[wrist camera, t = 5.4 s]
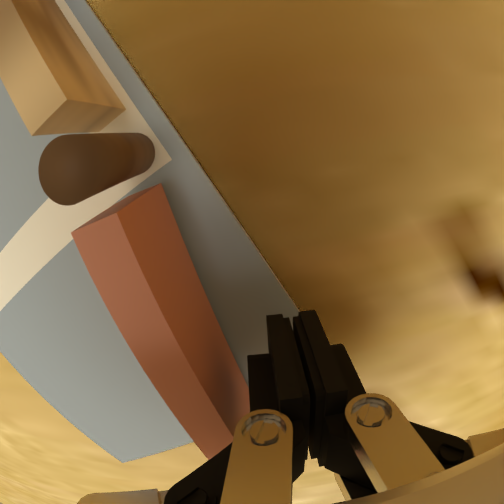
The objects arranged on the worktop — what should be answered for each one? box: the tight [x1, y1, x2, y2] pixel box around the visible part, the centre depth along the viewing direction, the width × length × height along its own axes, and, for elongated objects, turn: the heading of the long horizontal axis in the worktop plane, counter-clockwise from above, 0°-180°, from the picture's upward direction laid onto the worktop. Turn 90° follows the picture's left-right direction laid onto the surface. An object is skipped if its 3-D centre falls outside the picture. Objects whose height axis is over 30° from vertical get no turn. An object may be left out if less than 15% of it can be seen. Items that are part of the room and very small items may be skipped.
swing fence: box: [71, 183, 250, 460], centre depth 10 cm, size 11×1×4 cm, turn 18°
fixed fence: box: [0, 0, 155, 206], centre depth 6 cm, size 11×1×5 cm, turn 33°
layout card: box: [0, 0, 300, 463], centre depth 11 cm, size 22×14×1 cm, turn 33°
